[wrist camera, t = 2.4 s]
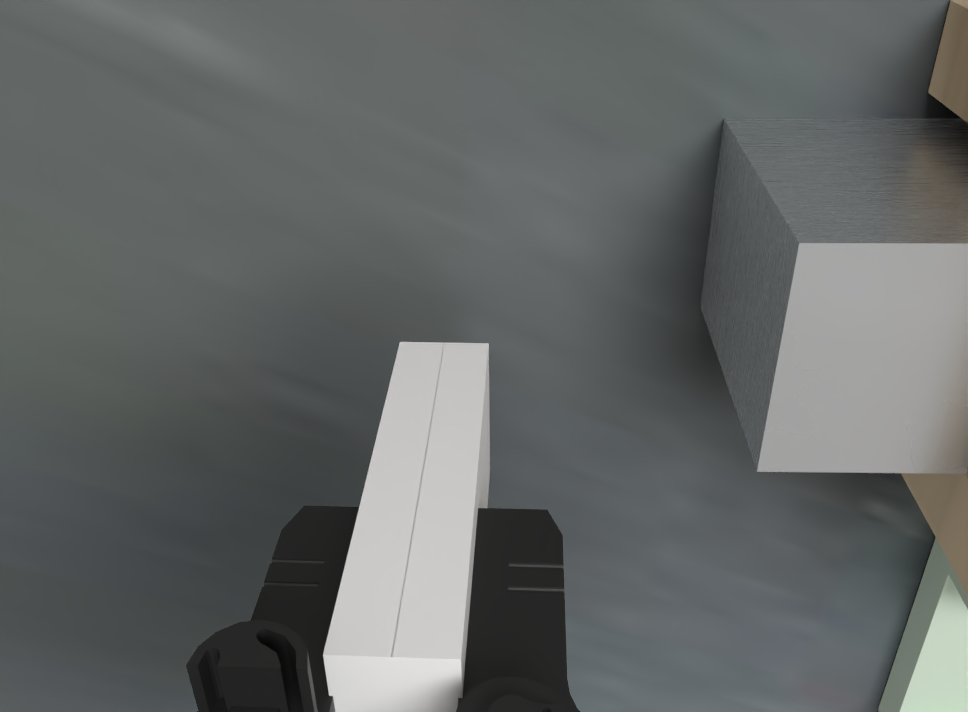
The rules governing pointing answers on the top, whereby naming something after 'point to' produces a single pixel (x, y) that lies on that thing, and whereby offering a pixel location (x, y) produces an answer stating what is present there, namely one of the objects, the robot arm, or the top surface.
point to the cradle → (932, 646)
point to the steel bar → (843, 291)
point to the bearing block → (941, 497)
